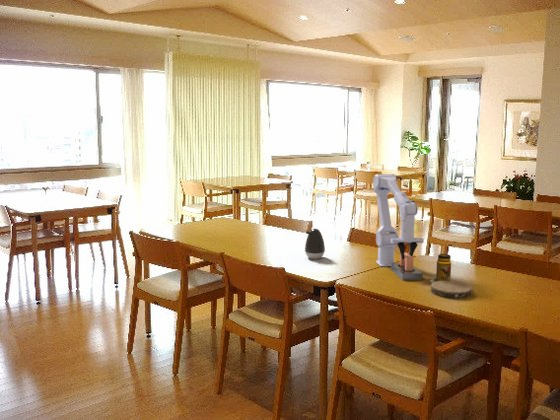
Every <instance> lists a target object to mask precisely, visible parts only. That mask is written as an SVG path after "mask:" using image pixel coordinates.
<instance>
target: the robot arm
mask: <svg viewBox="0 0 560 420" xmlns="http://www.w3.org/2000/svg"><path fill="white" fill-rule="evenodd" d="M372 187H373V192H374V193H375V194H376V201H377V208H378V216H379V223H380V224H379V225H380V227H379V228H378V229H377V230H376V232H375V243H376V245H377V247H378V249H377V260H375V262H376V263H377V265H379V266H380V267H391V263H395V248H396V247H398V249H399V254H400V253H401V258H402V259H404V253H405V250H406V245H405V244H408V250H409V251H408V254H409V255H410V256H412V257H413V256H414V253H415V251H416V249H417V247H418V244H424V242H425V241H424V240H425V239H424V238H422V237H415V219H416V218H415V216H416V215H417V214H418V205H417V203H416V202H414V201H411V200H410V198H409V196H407V194H406V193H405V192H404V191H401V189H400V188H399V185H398V184H397V177H396V175H395V174H394V173H390V174H389V173H388V174H386V173H385V174H374V176H373V178H372ZM390 192H391V194H392V195H393V196H394V197H393V200H394V202H395V203H396V205H397V206H398V208H399V209H398V210H399V214H400V220H401V227H400V237H399V235H398V232H397V229H396V228H395V227H393V226H392V221H391V215H390V213H391V212H390V205H389V200H388V199H389V198H388V194H389V193H390Z"/></svg>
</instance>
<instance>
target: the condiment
mask: <svg viewBox="0 0 560 420" xmlns="http://www.w3.org/2000/svg"><path fill="white" fill-rule="evenodd" d="M451 256H452V255H450V254H448V253H440V254H438V255H437V260H436V271H435V272H436V276H435V277H432V279H430V280H429V282H430V283H434V282H437V281H453V279H451V273H452V272H451V271H452V261H451V259H452V257H451Z"/></svg>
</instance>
